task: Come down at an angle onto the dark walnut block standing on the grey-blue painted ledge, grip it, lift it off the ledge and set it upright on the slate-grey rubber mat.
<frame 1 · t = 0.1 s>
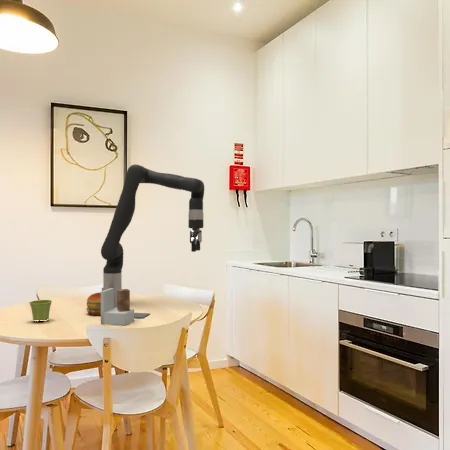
hand: (195, 251, 225), 29 cm above the table, tool pointing down, fingers open, 8 cm apart
ledge: (117, 322, 196), on the table
walnut block: (123, 310, 197), point 5 cm above the table, touching ledge
mat: (137, 316, 208), on the table
burger: (100, 314, 214), on the table
plant pot: (40, 321, 197), on the table
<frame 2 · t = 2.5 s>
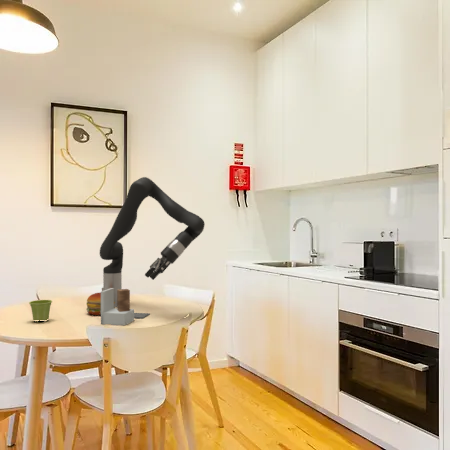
hand: (148, 277, 201), 19 cm above the table, tool tilted 45°, fingers open, 8 cm apart
nothing on the table moved.
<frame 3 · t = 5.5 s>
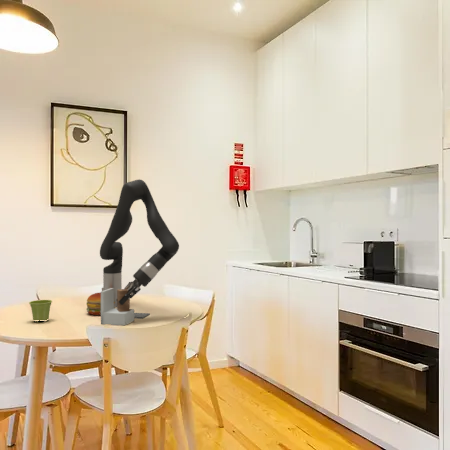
hand: (119, 302, 196), 9 cm above the table, tool tilted 45°, fingers closed on walnut block, 4 cm apart
walnut block: (123, 310, 197), point 5 cm above the table, touching gripper, ledge
everything else where it was.
when the fingers open (6 cm above the table, at t = 11.7 s): walnut block drops 1 cm, resting on mat.
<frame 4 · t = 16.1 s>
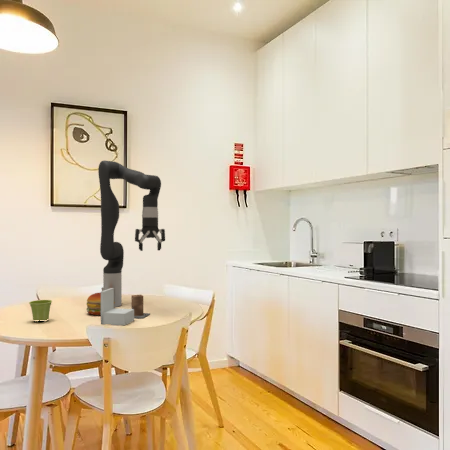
hand: (150, 250, 215), 30 cm above the table, tool pointing down, fingers open, 8 cm apart
walnut block: (137, 314, 208), point 1 cm above the table, touching mat
everything else where it was.
at the end: walnut block inside the target area on the mat (0.1 cm from its centre), point 0.6 cm above the mat's base; walnut block tilted 0°; walnut block touching mat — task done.
